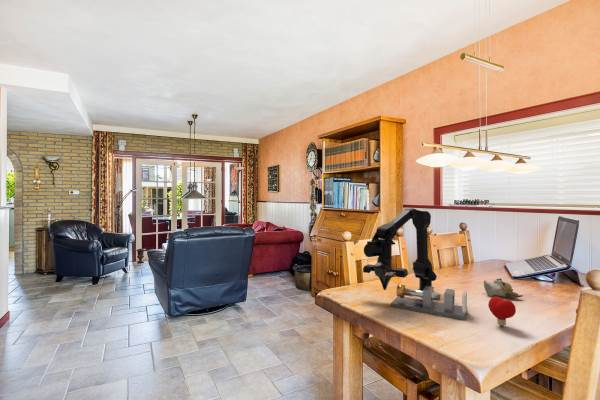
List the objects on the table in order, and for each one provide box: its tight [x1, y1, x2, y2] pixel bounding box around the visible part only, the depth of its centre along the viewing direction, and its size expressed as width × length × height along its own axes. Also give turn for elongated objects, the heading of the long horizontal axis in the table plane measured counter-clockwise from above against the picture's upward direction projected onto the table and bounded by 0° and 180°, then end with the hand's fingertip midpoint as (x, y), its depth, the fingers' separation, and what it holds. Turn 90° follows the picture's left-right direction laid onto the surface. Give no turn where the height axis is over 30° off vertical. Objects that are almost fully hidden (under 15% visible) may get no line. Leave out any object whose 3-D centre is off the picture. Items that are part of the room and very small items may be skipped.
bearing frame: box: [390, 286, 468, 321], centre depth 136 cm, size 12×28×8 cm, turn 58°
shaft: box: [395, 283, 442, 302], centre depth 138 cm, size 6×17×6 cm, turn 58°
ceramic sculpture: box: [483, 278, 524, 299], centre depth 152 cm, size 11×9×15 cm
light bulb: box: [487, 296, 517, 327], centre depth 118 cm, size 9×7×10 cm
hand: (384, 289), depth 145 cm, fingers closed
